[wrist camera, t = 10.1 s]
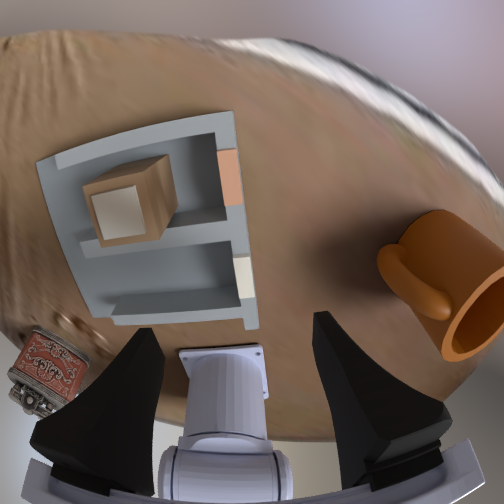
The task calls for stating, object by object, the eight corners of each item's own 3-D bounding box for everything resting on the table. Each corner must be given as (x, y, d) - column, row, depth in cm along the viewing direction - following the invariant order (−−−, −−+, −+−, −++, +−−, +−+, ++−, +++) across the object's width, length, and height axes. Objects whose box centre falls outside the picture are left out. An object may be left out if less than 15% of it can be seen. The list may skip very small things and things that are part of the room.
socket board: (256, 300, 23) (259, 332, 20) (96, 312, 23) (81, 339, 20) (233, 110, 16) (231, 111, 13) (41, 160, 16) (12, 173, 13)
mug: (396, 173, 18) (480, 221, 10) (474, 230, 21) (535, 279, 13) (342, 273, 22) (388, 356, 14) (429, 304, 25) (474, 365, 17)
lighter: (34, 335, 25) (-1, 397, 16) (35, 320, 24) (-5, 385, 15) (88, 368, 28) (63, 436, 19) (93, 355, 26) (65, 429, 17)
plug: (178, 205, 18) (158, 242, 13) (130, 213, 18) (99, 250, 13) (168, 153, 16) (141, 172, 12) (119, 164, 16) (79, 188, 12)
